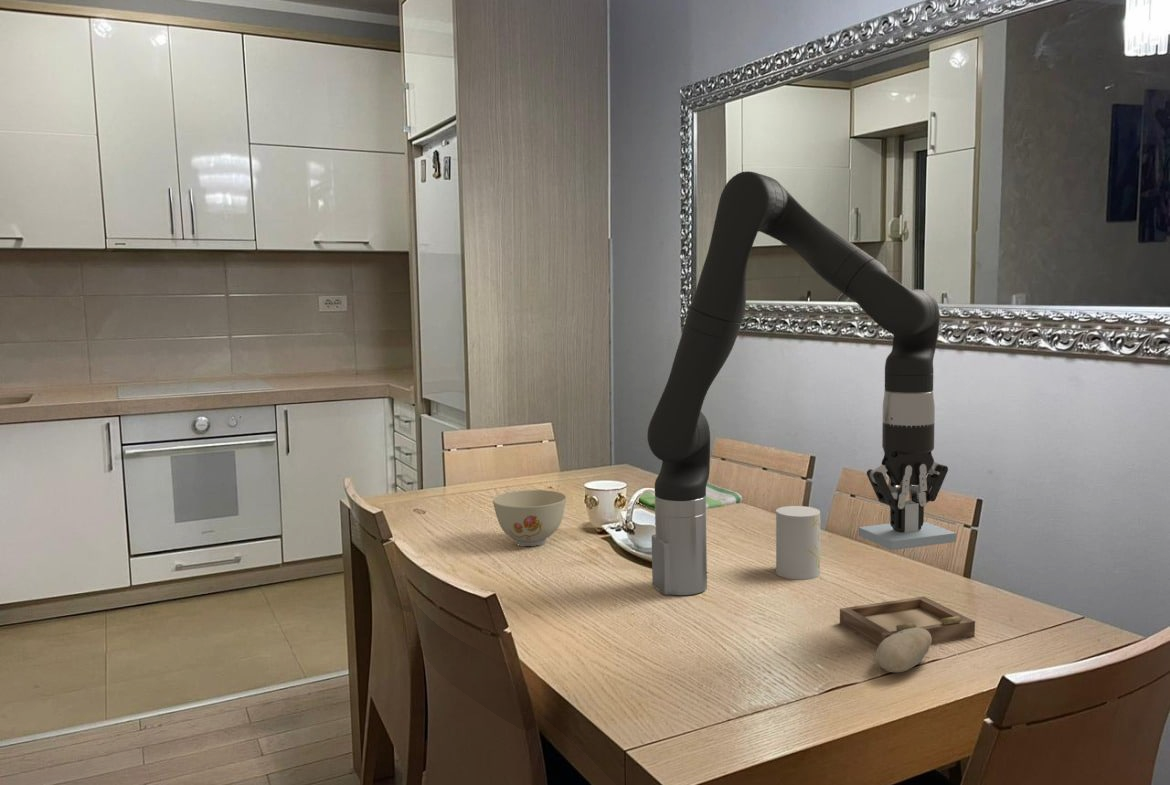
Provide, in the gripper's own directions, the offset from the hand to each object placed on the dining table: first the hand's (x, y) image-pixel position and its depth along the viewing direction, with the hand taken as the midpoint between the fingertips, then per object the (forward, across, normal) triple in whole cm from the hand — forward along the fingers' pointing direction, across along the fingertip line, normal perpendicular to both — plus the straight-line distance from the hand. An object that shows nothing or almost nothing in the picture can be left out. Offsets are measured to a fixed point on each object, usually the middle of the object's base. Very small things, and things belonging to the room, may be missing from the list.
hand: (906, 529), depth 138 cm
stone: (+16, -8, -11) cm, 22 cm away
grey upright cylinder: (+16, -1, +31) cm, 35 cm away
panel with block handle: (+1, 0, 0) cm, 1 cm away
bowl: (+16, -44, +70) cm, 84 cm away
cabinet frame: (+16, 0, 0) cm, 16 cm away
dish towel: (+17, +2, +91) cm, 93 cm away
